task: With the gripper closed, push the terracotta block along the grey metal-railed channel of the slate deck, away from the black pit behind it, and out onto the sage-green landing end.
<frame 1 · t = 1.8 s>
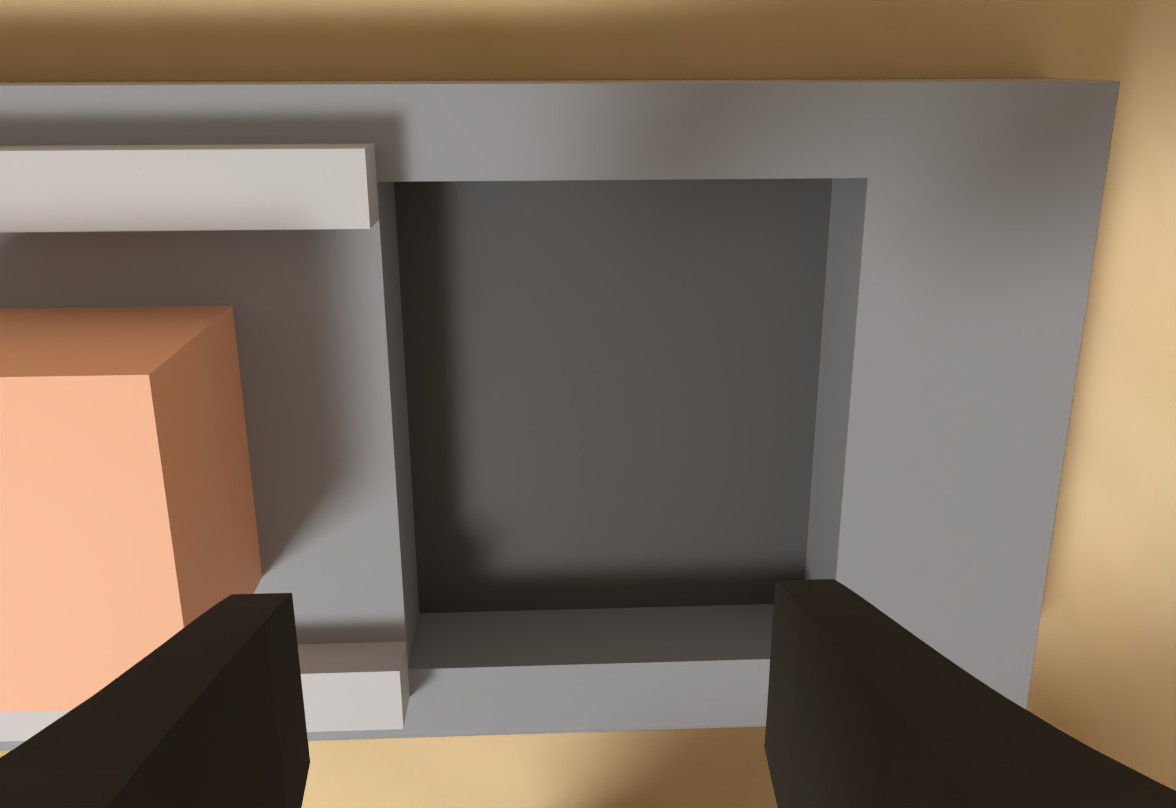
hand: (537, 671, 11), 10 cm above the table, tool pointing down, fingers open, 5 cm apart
tunnel deck: (254, 402, 21), on the table
terracotta block: (100, 449, 18), point 2 cm above the table, touching tunnel deck
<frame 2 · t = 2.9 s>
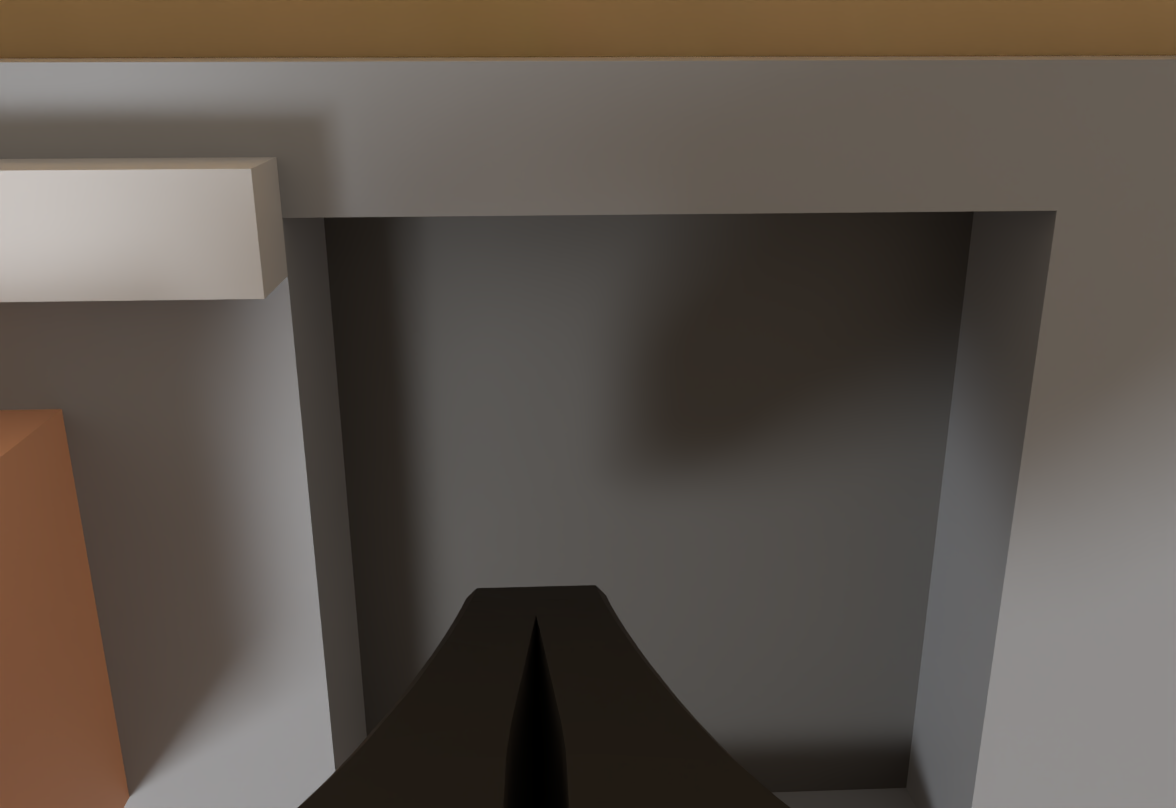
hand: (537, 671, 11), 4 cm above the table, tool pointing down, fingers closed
tunnel deck: (131, 522, 14), on the table
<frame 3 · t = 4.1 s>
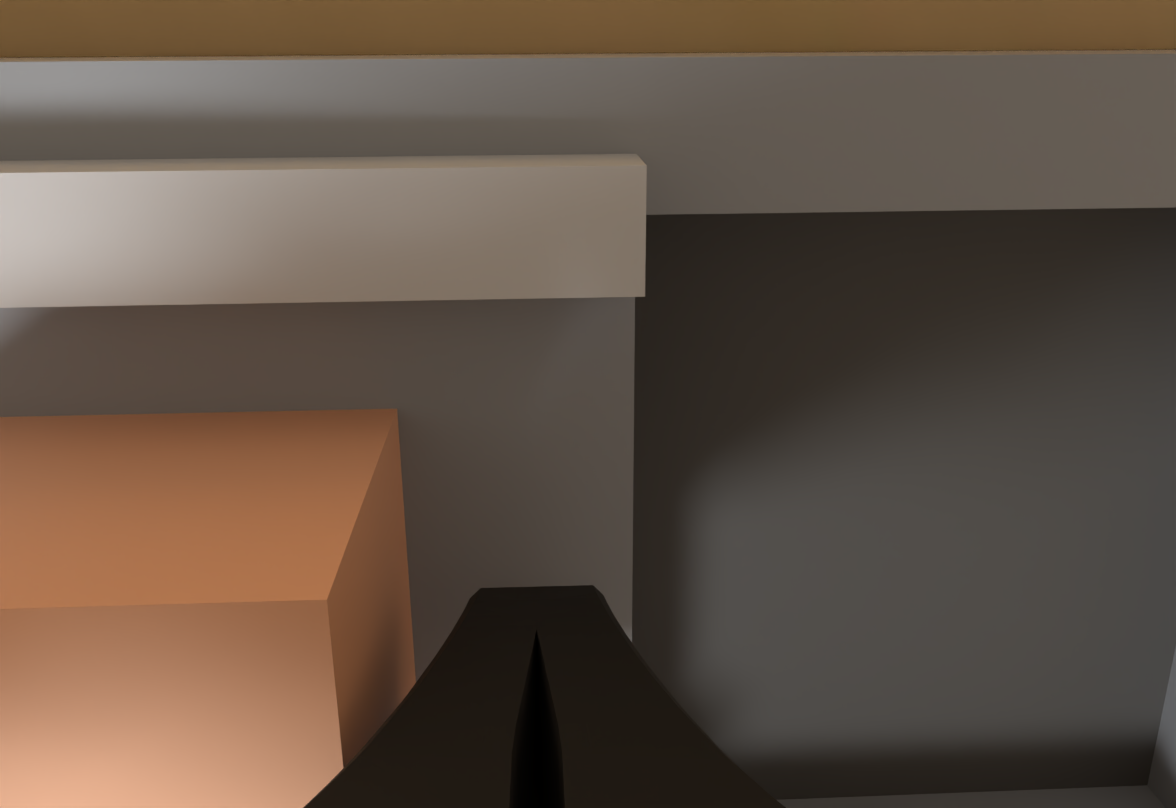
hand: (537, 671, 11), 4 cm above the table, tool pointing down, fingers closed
tunnel deck: (394, 522, 14), on the table
terracotta block: (187, 623, 12), point 2 cm above the table, touching gripper, tunnel deck
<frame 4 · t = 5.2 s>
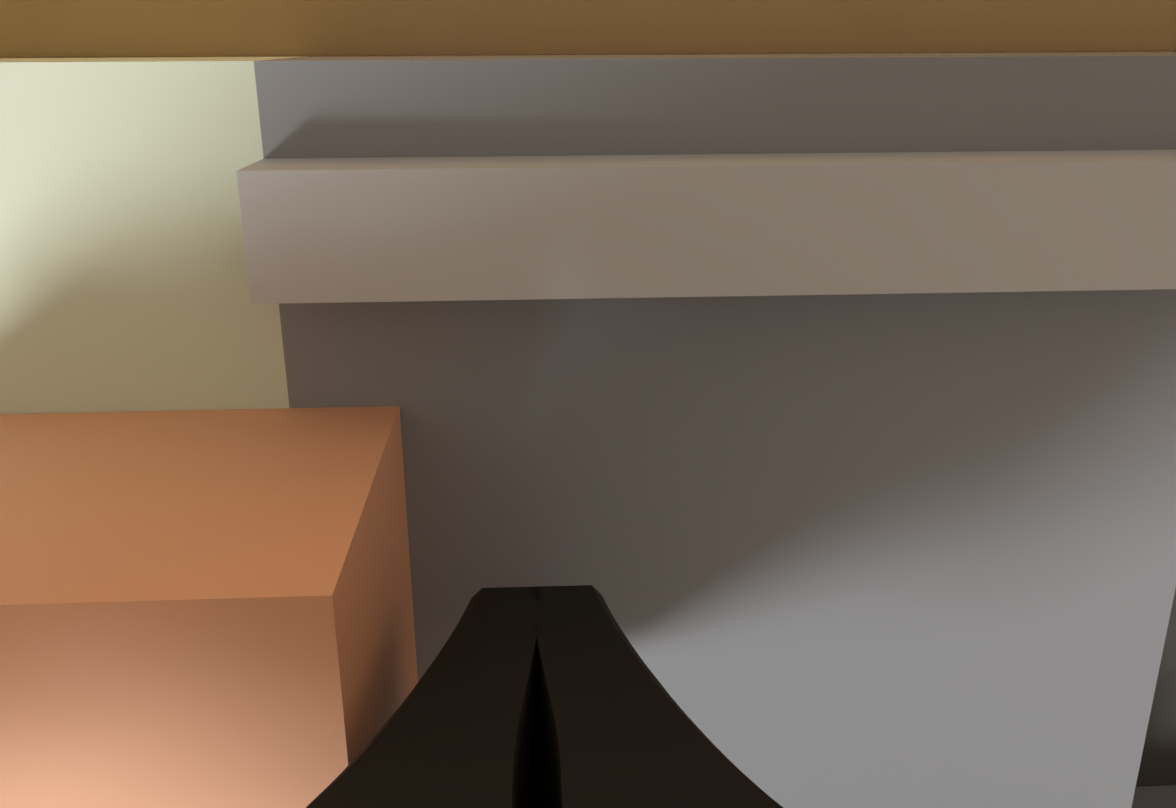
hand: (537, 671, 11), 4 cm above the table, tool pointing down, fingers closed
tunnel deck: (859, 510, 15), on the table
terracotta block: (189, 621, 12), point 3 cm above the table, touching gripper
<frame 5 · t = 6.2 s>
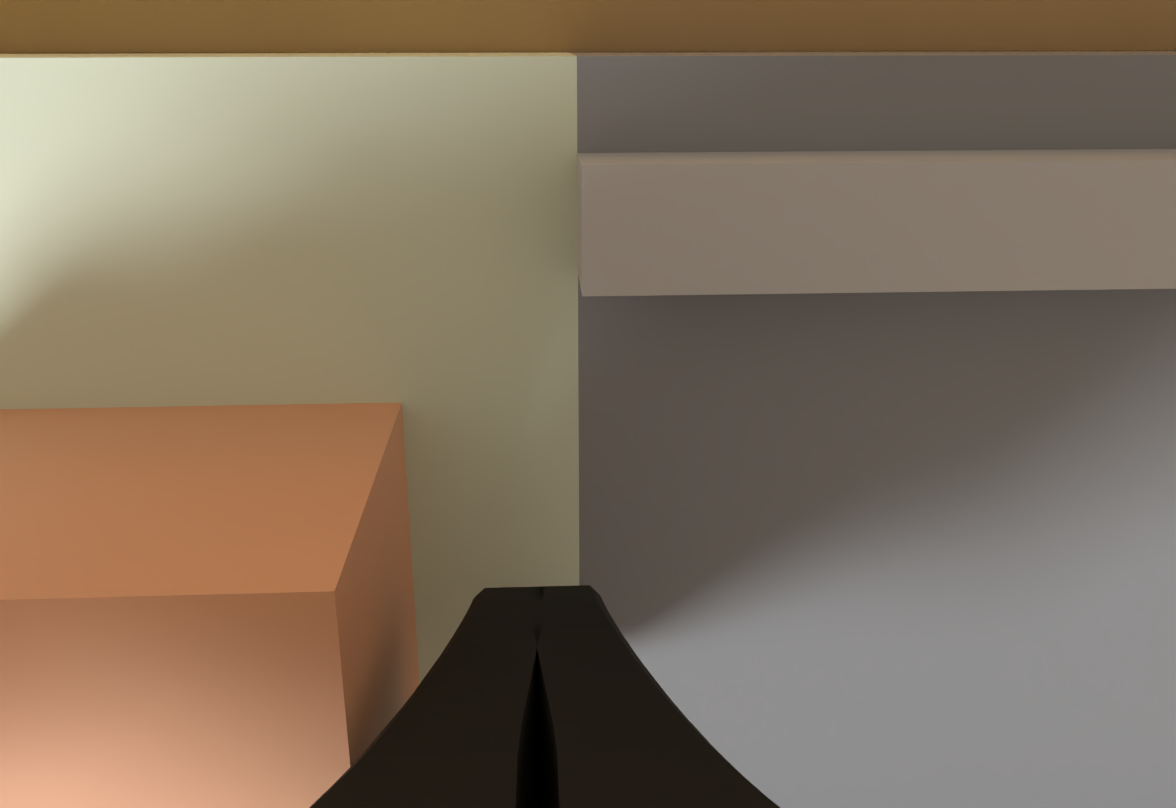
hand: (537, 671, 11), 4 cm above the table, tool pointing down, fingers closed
tunnel deck: (1073, 504, 15), on the table
terracotta block: (190, 617, 12), point 2 cm above the table, touching gripper, tunnel deck
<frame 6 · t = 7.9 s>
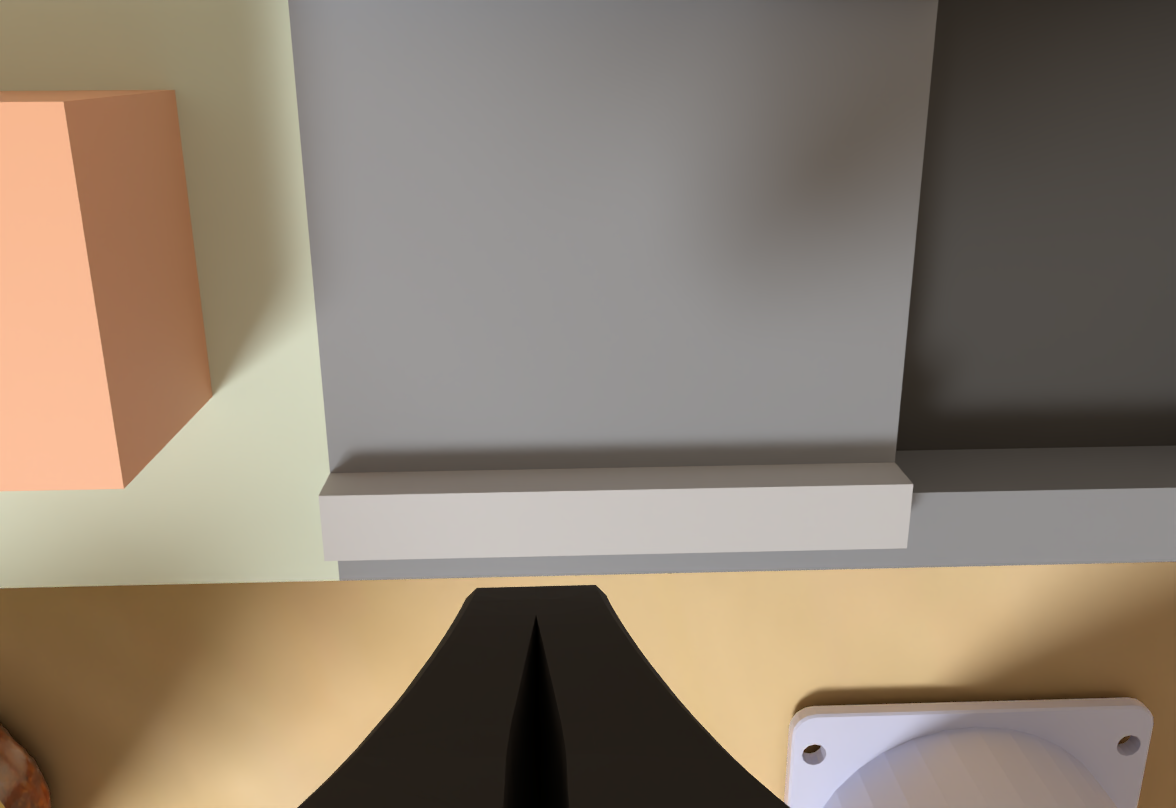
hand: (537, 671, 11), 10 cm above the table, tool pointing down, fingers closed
tunnel deck: (713, 223, 20), on the table
terracotta block: (38, 252, 17), point 2 cm above the table, touching tunnel deck
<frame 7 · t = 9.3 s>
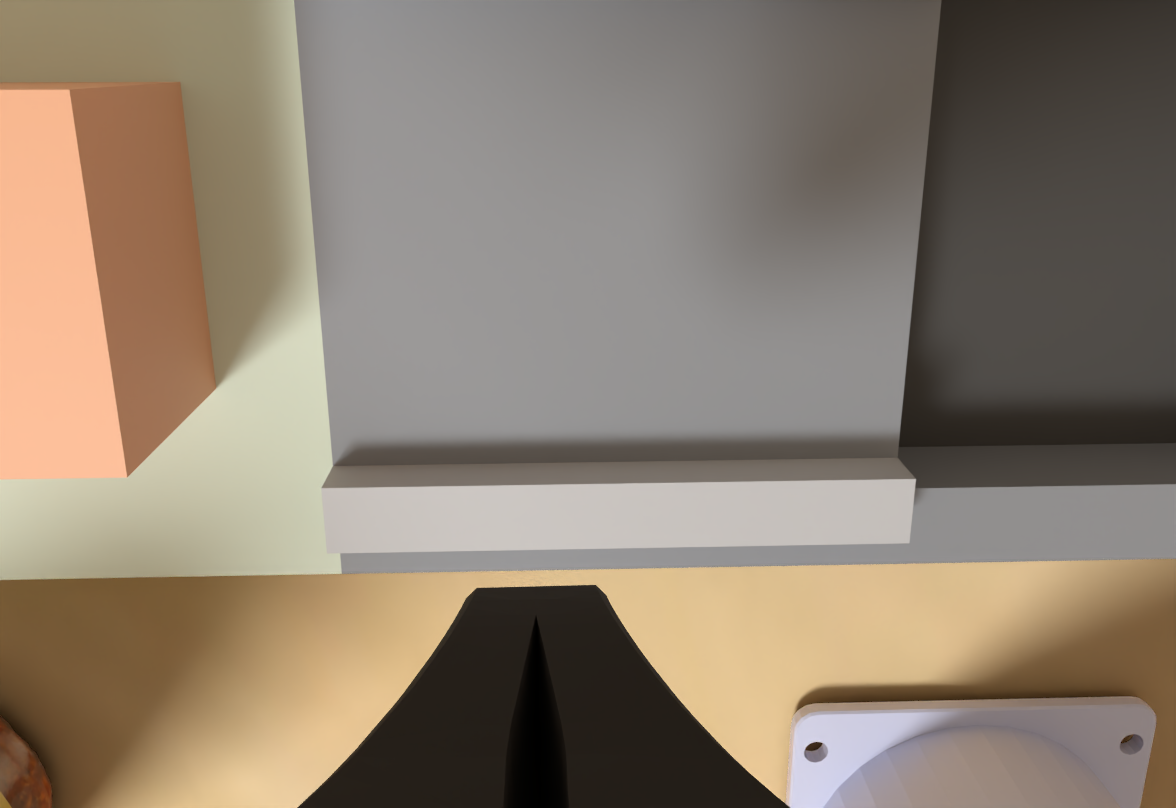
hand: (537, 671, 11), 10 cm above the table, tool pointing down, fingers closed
tunnel deck: (716, 218, 20), on the table
terracotta block: (43, 243, 17), point 2 cm above the table, touching tunnel deck
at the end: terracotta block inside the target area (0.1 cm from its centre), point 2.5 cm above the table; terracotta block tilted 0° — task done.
